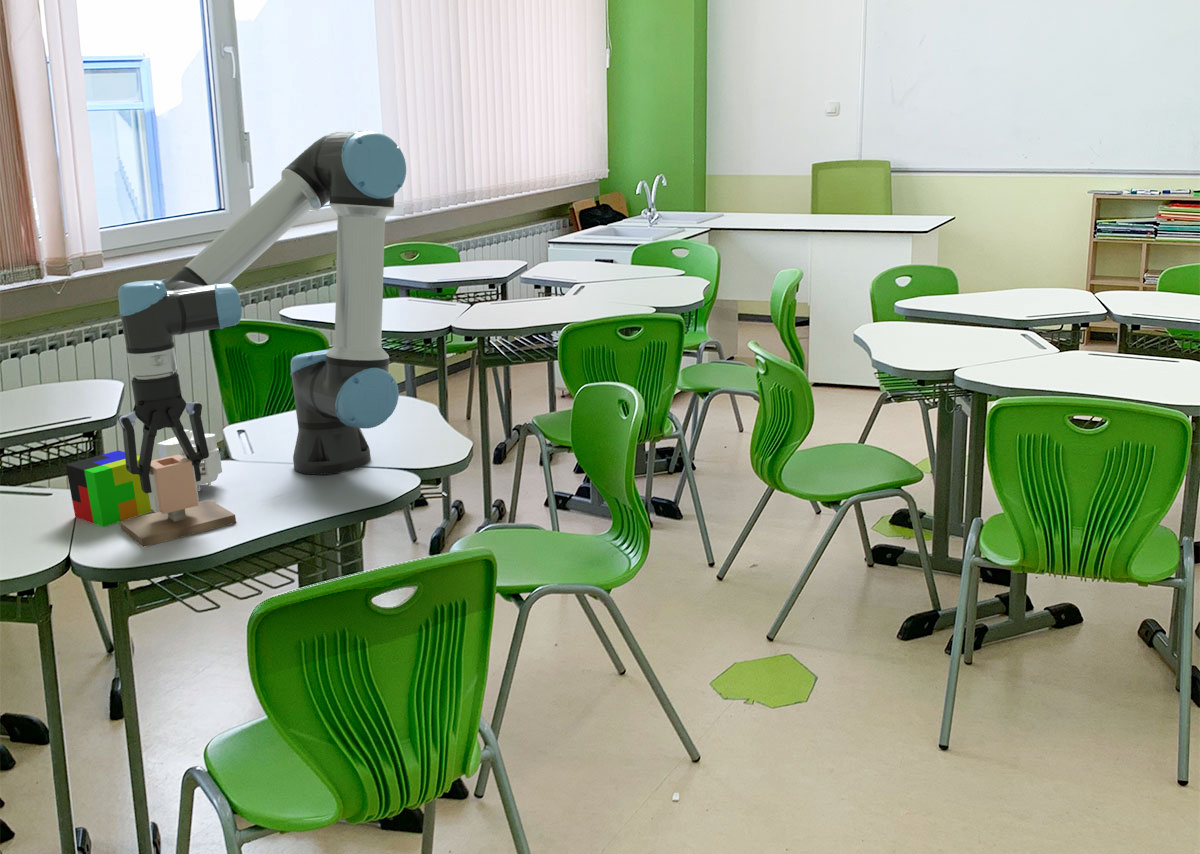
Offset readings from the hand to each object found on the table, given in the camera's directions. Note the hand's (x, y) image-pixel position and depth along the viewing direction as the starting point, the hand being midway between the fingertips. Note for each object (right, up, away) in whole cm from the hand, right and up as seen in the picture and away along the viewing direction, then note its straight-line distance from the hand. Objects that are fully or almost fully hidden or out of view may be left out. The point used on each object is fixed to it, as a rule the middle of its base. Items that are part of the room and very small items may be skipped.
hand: (175, 504), depth 202 cm
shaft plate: (0, -4, +1) cm, 4 cm away
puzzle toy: (-14, -3, +10) cm, 18 cm away
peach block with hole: (0, 0, 0) cm, 0 cm away
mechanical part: (-4, +2, +22) cm, 23 cm away
